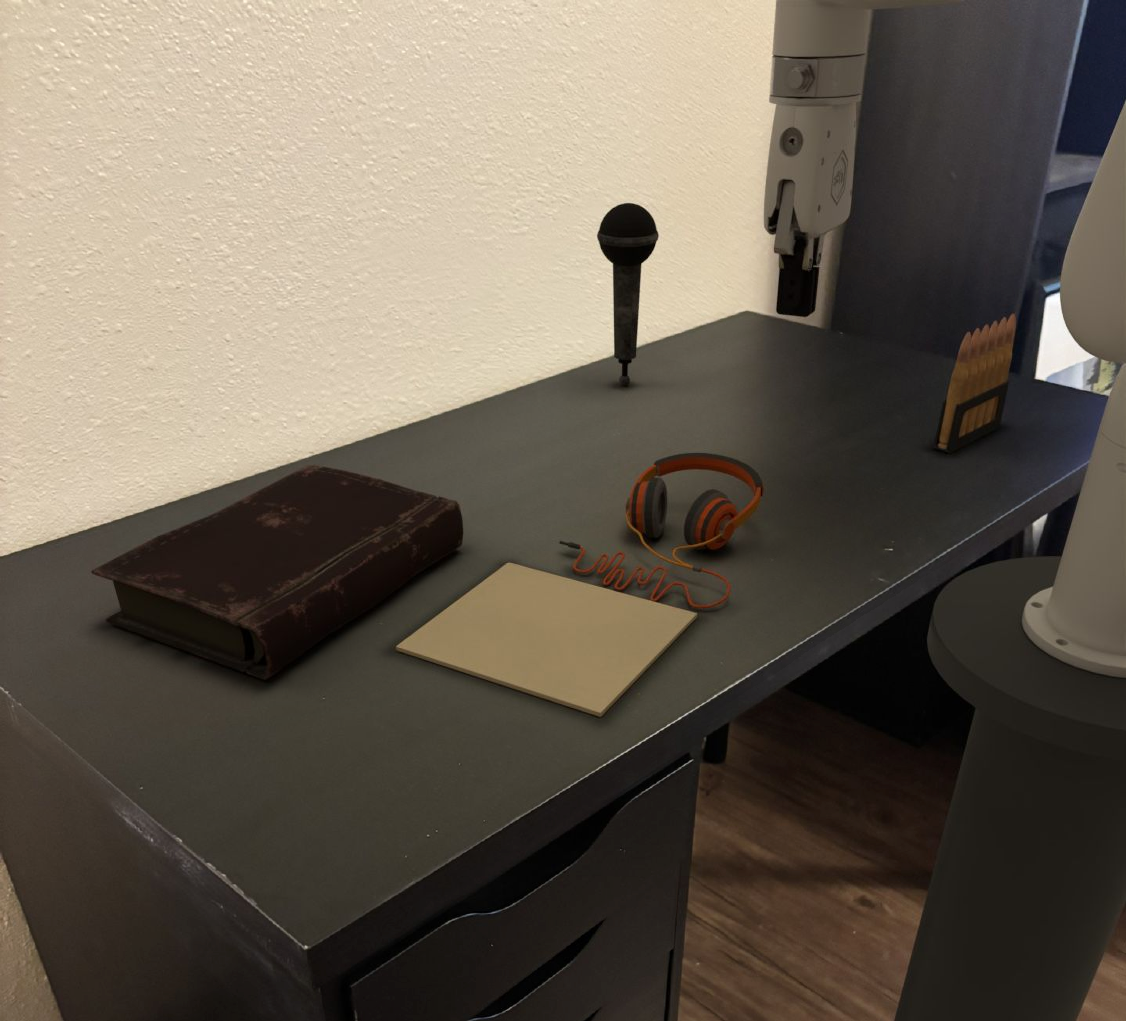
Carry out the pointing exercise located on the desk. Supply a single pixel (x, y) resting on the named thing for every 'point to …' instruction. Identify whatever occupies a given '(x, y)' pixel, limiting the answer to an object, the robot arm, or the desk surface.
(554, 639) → the flat square board
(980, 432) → the ammunition clip
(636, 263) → the microphone
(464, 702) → the desk surface
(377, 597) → the diary
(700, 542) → the headphones
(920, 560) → the desk surface
